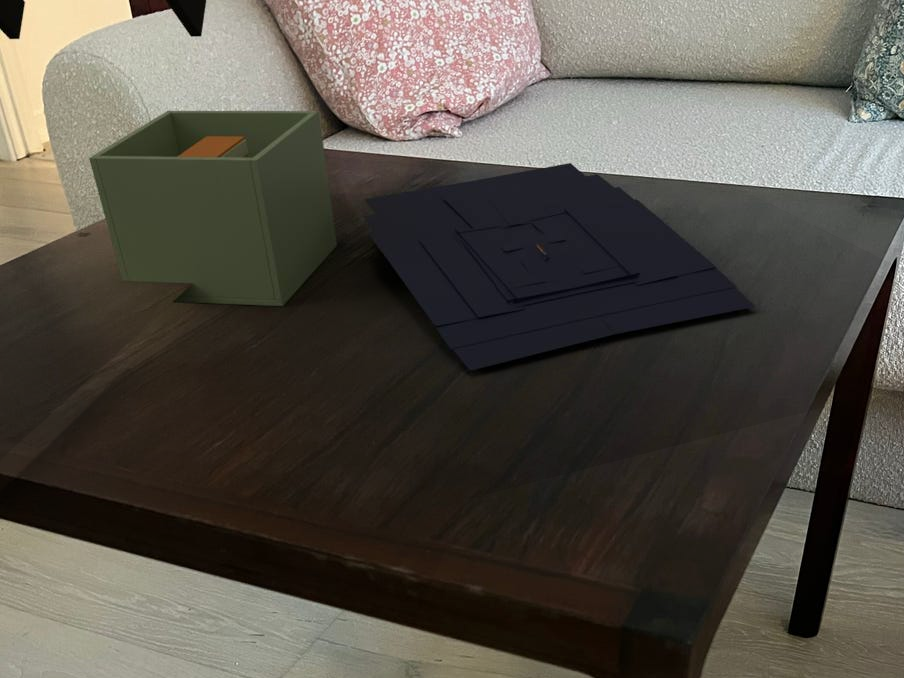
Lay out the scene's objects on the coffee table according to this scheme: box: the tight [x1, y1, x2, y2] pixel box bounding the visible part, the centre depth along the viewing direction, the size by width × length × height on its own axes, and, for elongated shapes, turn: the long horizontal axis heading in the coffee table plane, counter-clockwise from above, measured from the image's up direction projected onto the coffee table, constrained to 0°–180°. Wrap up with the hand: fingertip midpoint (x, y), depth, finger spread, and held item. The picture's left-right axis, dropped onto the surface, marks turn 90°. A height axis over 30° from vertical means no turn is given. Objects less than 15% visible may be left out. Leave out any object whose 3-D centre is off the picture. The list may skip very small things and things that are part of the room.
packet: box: [177, 136, 248, 158], centre depth 90 cm, size 4×6×10 cm, turn 167°
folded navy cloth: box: [362, 162, 756, 371], centre depth 88 cm, size 24×30×4 cm
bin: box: [88, 110, 338, 307], centre depth 90 cm, size 14×14×12 cm
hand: (106, 19), depth 71 cm, fingers open, 13 cm apart
